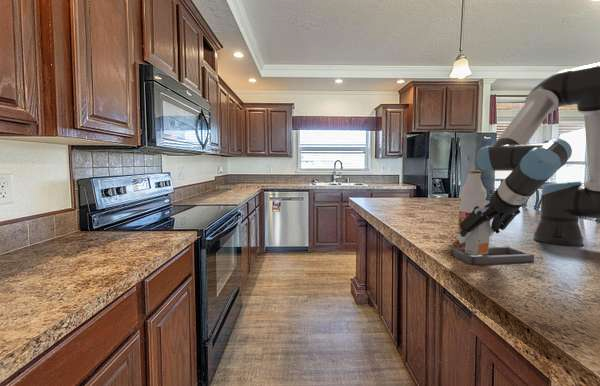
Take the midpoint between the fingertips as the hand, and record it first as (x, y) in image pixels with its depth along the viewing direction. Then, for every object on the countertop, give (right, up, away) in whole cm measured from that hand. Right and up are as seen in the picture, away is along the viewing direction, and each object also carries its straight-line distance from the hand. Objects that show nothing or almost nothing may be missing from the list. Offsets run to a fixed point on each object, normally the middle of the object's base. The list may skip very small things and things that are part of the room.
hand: (470, 239), depth 108 cm
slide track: (+5, -6, -2) cm, 8 cm away
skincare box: (0, -4, -3) cm, 5 cm away
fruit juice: (+11, -4, +20) cm, 23 cm away
